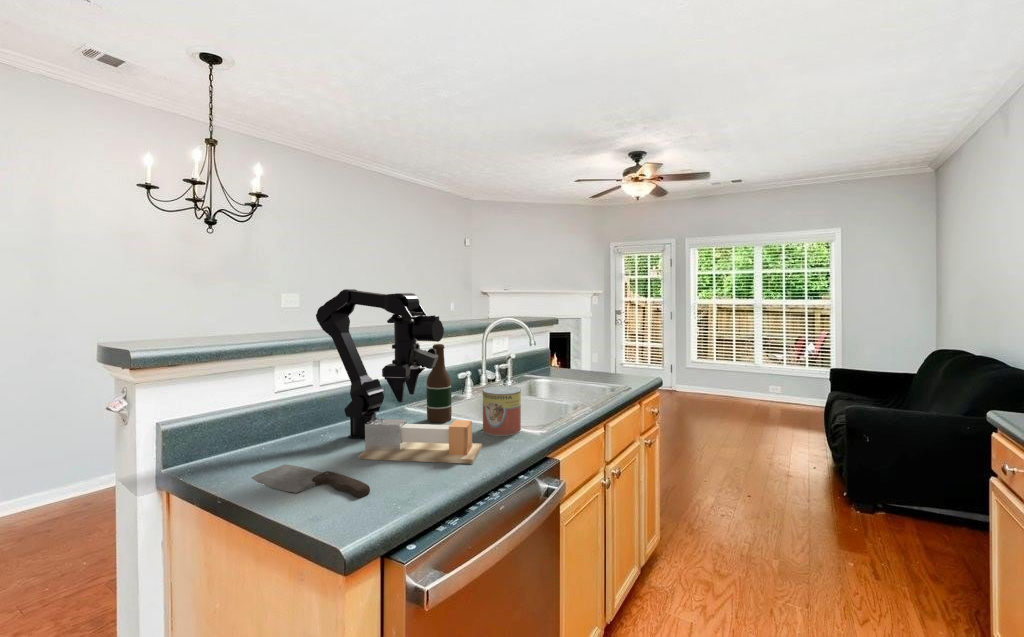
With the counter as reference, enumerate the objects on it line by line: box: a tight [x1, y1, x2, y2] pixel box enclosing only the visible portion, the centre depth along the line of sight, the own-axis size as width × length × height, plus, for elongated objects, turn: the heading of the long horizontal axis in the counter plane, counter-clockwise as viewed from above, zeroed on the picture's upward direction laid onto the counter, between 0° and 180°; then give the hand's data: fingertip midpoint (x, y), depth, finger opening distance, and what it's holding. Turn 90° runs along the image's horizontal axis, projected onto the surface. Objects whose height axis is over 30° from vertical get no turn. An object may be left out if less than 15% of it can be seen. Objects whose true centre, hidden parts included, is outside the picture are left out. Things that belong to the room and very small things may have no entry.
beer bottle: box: [426, 343, 453, 424], centre depth 151 cm, size 8×8×24 cm
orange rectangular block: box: [449, 419, 473, 455], centre depth 120 cm, size 4×6×7 cm
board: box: [359, 442, 483, 465], centre depth 121 cm, size 28×12×1 cm, turn 83°
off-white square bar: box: [400, 423, 451, 444], centre depth 121 cm, size 19×4×4 cm, turn 83°
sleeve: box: [364, 418, 408, 452], centre depth 122 cm, size 9×5×7 cm, turn 83°
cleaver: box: [250, 463, 371, 499], centre depth 101 cm, size 29×10×2 cm, turn 63°
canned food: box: [482, 385, 522, 437], centre depth 140 cm, size 11×11×12 cm
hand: (406, 398), depth 129 cm, fingers open, 9 cm apart
